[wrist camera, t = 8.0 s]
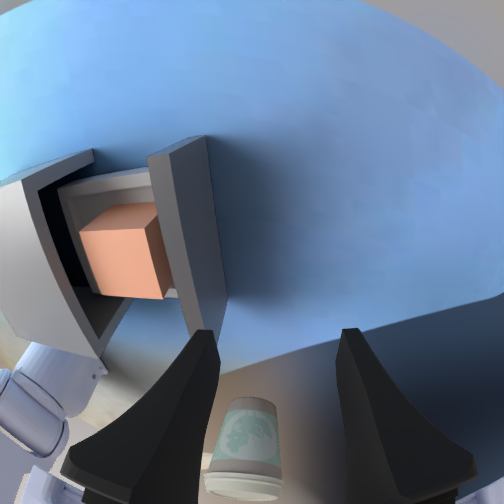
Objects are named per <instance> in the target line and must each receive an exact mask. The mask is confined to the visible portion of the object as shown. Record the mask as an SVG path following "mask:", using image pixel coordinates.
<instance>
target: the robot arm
mask: <svg viewBox="0 0 504 504" xmlns="http://www.w3.org/2000/svg"><path fill="white" fill-rule="evenodd" d="M220 364H221V361H220V357H219V353H218V349H217V345H216V341H215V337H214V333H213V330H204V329H198V330H196V331H195V333H194V334H193V336H192V337H191V339H190V340H189V341H188V343H187V344H186V346H185V347H184V348H183V350H182V351H181V352H180V354H179V355H178V357H177V358H176V359H175V360H174V362H173V363H172V364H171V365H170V367H169V368H168V369H167V370H166V372H165V373H164V374H163V375H162V376H161V377H160V379H159V380H158V381H157V382H156V383H155V384H154V385H153V386H152V388H151V389H150V390H149V391H148V392H147V393H146V394H145V395H144V396H143V397H142V398H141V399H140V400H138V401H137V402H136V403H135V404H134V405H133V406H132V407H131V408H129V409H128V410H127V411H126V412H125V413H124V414H122V415H121V416H120V417H119V418H117V419H116V420H115V421H113V422H112V423H110V424H109V425H107V426H106V427H104V428H103V429H101V430H100V431H98V432H97V433H95V434H94V435H92V436H90V437H88V438H86V439H85V440H83V441H81V442H79V443H77V444H75V445H73V446H71V447H70V448H69V450H68V453H67V455H66V458H65V460H64V463H63V465H62V468H61V471H60V473H61V475H63V476H65V477H66V478H68V479H70V480H72V481H74V482H75V483H77V484H79V485H81V486H83V487H85V491H82V490H80V489H78V488H76V487H73V486H72V485H70V484H68V483H66V482H64V481H62V480H60V479H59V478H57V477H55V476H53V475H52V474H50V473H48V472H49V471H50V469H51V468H52V466H53V464H54V462H55V461H56V459H57V457H58V456H59V455H60V454H61V453H62V452H63V450H64V448H65V446H66V444H67V441H68V438H69V426H68V422H67V420H66V419H65V418H72V417H75V416H77V415H79V414H80V413H81V412H82V411H83V410H84V409H85V408H86V406H87V404H88V402H89V400H90V398H91V396H92V393H93V391H94V389H95V387H96V385H97V383H98V381H99V379H100V377H101V375H102V374H104V375H107V374H108V370H107V369H106V368H105V366H104V365H103V363H102V361H101V360H100V358H99V359H96V358H91V357H87V356H83V355H79V354H75V353H71V352H67V351H63V350H59V349H56V348H52V347H49V346H45V345H42V344H39V343H36V342H33V341H32V343H31V344H30V346H29V347H28V348H27V350H26V351H25V353H24V354H23V356H22V357H21V359H20V360H19V362H18V363H17V365H16V366H15V368H14V369H13V370H12V371H9V370H8V369H0V426H2V427H3V428H4V429H5V430H6V431H7V432H9V433H10V434H11V435H12V436H14V437H15V438H17V439H18V440H19V441H20V442H22V443H23V444H24V445H26V446H27V447H28V448H30V449H31V450H33V451H34V452H29V451H27V450H25V449H23V448H22V447H20V446H19V445H18V444H16V443H15V442H14V441H13V440H11V439H10V438H9V437H7V436H6V435H5V434H4V433H2V432H1V431H0V504H14V501H15V498H16V495H17V492H18V489H19V486H20V484H21V481H22V478H23V476H24V474H26V473H30V476H29V478H28V481H27V484H26V486H25V489H24V492H23V495H22V498H21V501H20V504H198V492H199V478H200V469H201V460H202V452H203V444H204V438H205V433H206V429H207V425H208V421H209V417H210V413H211V409H212V406H213V401H214V398H215V394H216V390H217V386H218V380H219V372H220ZM336 375H337V386H338V393H339V398H340V404H341V410H342V415H343V421H344V427H345V435H346V456H347V457H346V458H347V459H346V461H347V463H346V468H347V469H346V496H345V504H504V477H502V478H500V479H499V480H497V481H495V482H494V483H492V484H490V485H488V486H487V487H484V488H482V489H480V490H478V491H476V492H474V493H472V494H470V495H468V496H466V497H464V498H462V499H460V500H458V501H457V502H455V497H456V496H458V489H457V488H458V487H460V486H462V485H464V484H466V483H468V482H469V481H471V480H473V479H475V478H476V477H477V476H478V472H477V467H476V462H475V459H474V456H473V454H471V453H470V452H468V451H467V450H465V449H464V448H462V447H460V446H459V445H458V444H456V443H454V442H453V441H452V440H451V439H449V438H448V437H447V436H446V435H444V434H443V433H442V432H441V431H440V430H439V429H437V428H436V427H435V426H434V425H433V424H432V423H431V422H429V420H427V419H426V418H425V417H424V416H423V415H422V414H421V413H420V412H419V411H418V410H417V409H416V408H415V406H414V405H413V404H412V403H411V402H410V401H409V400H408V399H407V397H406V396H405V395H404V394H403V393H402V392H401V390H400V389H399V388H398V386H397V385H396V384H395V382H394V381H393V380H392V379H391V377H390V376H389V374H388V373H387V372H386V370H385V369H384V367H383V366H382V365H381V363H380V362H379V360H378V359H377V357H376V356H375V354H374V352H373V351H372V350H371V348H370V346H369V345H368V343H367V341H366V340H365V338H364V336H363V335H362V333H361V331H360V330H359V329H358V328H350V329H342V334H341V339H340V344H339V349H338V353H337V357H336Z"/></svg>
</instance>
